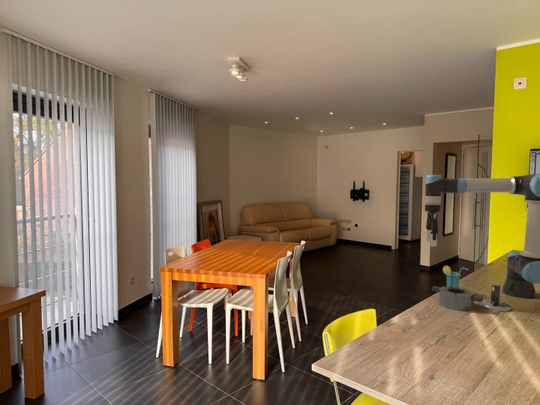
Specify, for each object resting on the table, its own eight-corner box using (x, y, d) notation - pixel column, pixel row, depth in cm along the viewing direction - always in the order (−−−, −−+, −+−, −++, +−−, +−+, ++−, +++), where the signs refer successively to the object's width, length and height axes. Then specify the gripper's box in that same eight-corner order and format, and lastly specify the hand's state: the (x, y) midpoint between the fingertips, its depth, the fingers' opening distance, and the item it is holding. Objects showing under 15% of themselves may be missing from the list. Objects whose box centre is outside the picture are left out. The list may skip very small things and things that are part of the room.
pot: (426, 302, 184) (426, 288, 183) (439, 296, 194) (439, 283, 193) (474, 315, 167) (475, 300, 166) (486, 307, 177) (487, 293, 176)
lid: (504, 303, 183) (505, 283, 183) (515, 313, 171) (516, 290, 170) (475, 301, 186) (476, 281, 186) (484, 310, 174) (485, 288, 173)
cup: (470, 294, 197) (471, 267, 196) (465, 297, 191) (466, 269, 190) (443, 288, 207) (444, 262, 206) (438, 291, 202) (439, 264, 201)
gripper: (421, 202, 206) (419, 239, 208) (429, 205, 182) (427, 247, 184) (435, 202, 204) (434, 240, 206) (445, 206, 180) (444, 248, 182)
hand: (431, 244), depth 195 cm, fingers open, 13 cm apart
